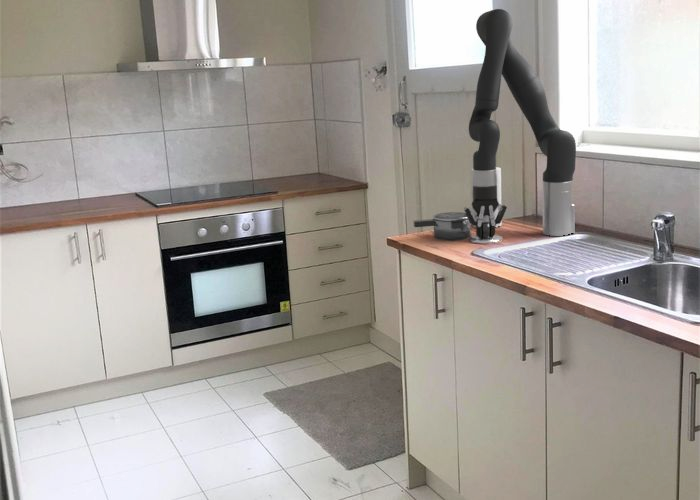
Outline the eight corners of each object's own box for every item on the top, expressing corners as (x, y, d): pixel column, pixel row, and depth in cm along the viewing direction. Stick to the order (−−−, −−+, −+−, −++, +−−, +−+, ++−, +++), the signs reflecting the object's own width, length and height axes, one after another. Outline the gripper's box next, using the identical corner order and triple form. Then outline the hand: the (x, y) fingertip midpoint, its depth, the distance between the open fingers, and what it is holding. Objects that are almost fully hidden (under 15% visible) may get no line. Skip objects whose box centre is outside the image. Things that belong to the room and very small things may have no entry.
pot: (466, 231, 263) (466, 211, 261) (476, 240, 249) (476, 218, 247) (411, 235, 262) (410, 215, 260) (419, 244, 248) (418, 223, 246)
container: (472, 229, 266) (471, 170, 262) (472, 223, 276) (471, 166, 271) (502, 228, 264) (501, 169, 260) (501, 222, 274) (500, 165, 269)
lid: (497, 235, 254) (497, 218, 252) (506, 242, 243) (506, 224, 242) (466, 238, 253) (465, 220, 252) (473, 245, 243) (473, 226, 242)
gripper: (503, 180, 248) (504, 233, 252) (460, 183, 247) (461, 236, 251) (510, 183, 241) (510, 238, 245) (465, 186, 240) (466, 241, 244)
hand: (485, 237), depth 248 cm, fingers closed on lid, 3 cm apart
